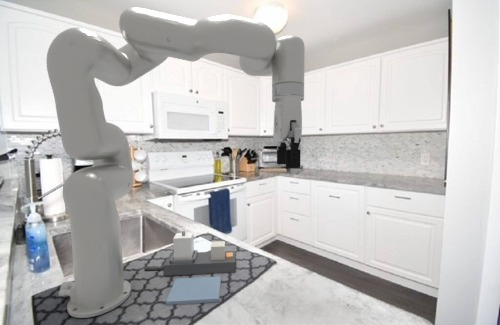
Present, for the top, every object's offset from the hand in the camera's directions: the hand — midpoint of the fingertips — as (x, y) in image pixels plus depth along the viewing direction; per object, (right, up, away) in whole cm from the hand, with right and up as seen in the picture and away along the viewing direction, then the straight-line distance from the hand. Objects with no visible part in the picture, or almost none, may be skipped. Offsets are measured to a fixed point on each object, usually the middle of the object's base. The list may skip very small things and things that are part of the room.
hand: (287, 165), depth 55 cm
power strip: (-27, -31, +12) cm, 42 cm away
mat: (-23, -31, +1) cm, 39 cm away
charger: (-29, -28, +12) cm, 41 cm away
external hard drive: (-27, -30, +26) cm, 48 cm away
